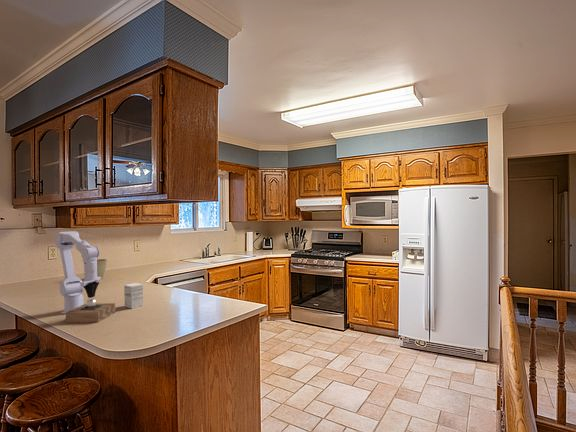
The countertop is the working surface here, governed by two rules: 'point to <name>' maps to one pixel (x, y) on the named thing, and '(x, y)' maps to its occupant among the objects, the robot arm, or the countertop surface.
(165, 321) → the countertop surface
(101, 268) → the plant pot
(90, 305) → the steel peg
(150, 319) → the countertop surface
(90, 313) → the walnut block
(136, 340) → the countertop surface
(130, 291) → the supplement box
